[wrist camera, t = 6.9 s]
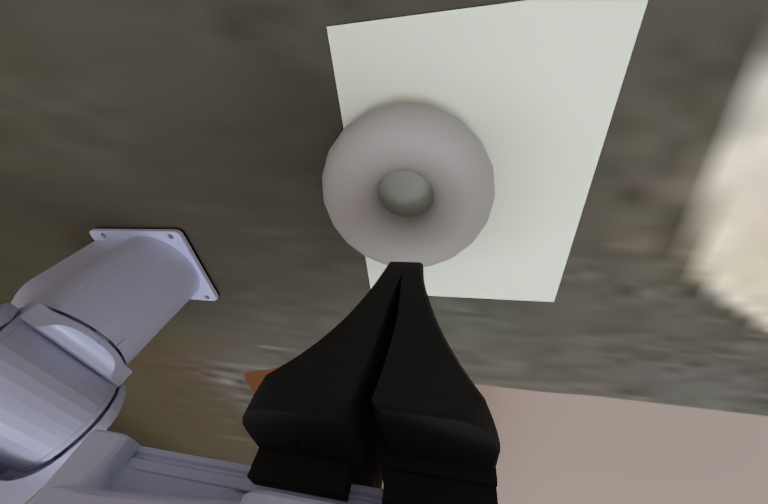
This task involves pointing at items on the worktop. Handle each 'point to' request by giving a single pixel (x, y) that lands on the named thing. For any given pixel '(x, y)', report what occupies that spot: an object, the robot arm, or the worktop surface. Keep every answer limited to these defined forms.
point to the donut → (422, 156)
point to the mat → (500, 122)
